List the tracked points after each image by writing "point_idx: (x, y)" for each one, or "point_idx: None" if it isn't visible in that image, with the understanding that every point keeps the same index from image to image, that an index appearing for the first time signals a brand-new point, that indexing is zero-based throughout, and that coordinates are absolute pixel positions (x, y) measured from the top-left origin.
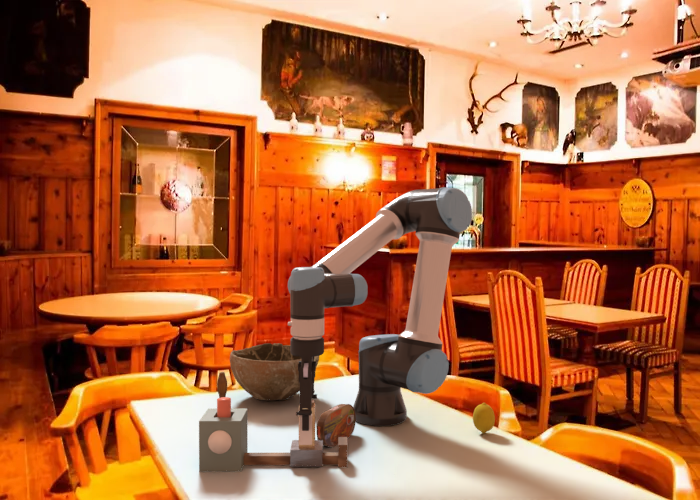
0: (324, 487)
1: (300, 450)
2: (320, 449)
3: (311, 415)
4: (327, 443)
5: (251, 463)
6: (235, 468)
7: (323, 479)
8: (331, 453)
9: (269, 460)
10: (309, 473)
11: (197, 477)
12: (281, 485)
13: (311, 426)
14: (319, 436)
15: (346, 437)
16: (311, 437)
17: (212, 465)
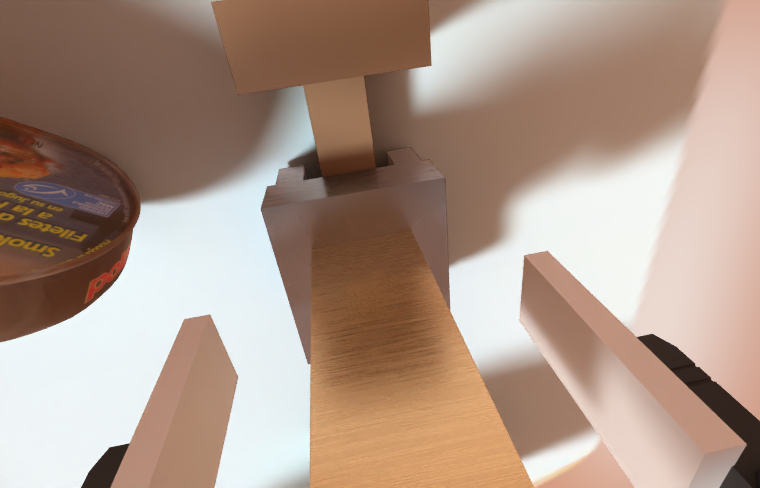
0: (633, 90)
1: (448, 291)
2: (438, 189)
3: (734, 439)
4: (104, 180)
5: None
6: None
7: (546, 112)
8: (327, 118)
9: None
10: (475, 191)
11: None
12: (581, 266)
13: (635, 342)
14: (128, 248)
15: (228, 6)
16: (577, 282)
17: None
